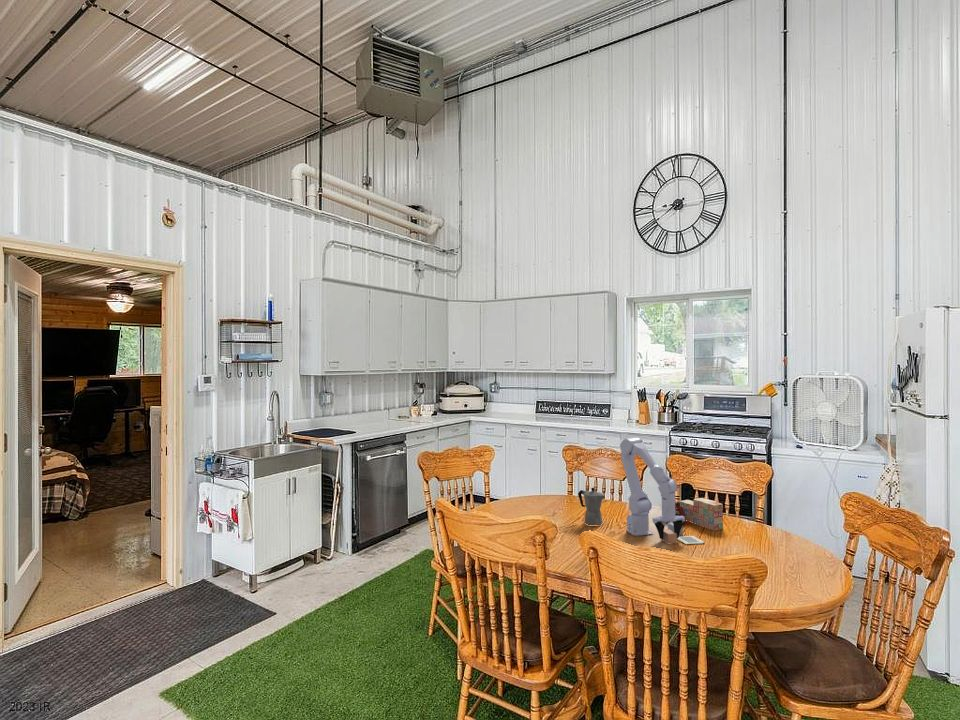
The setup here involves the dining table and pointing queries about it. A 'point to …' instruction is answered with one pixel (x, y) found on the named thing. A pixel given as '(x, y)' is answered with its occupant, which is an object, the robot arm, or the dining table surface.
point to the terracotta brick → (670, 536)
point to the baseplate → (690, 540)
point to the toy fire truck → (679, 510)
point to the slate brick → (671, 527)
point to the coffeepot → (592, 506)
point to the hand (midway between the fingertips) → (669, 538)
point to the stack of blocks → (704, 512)
